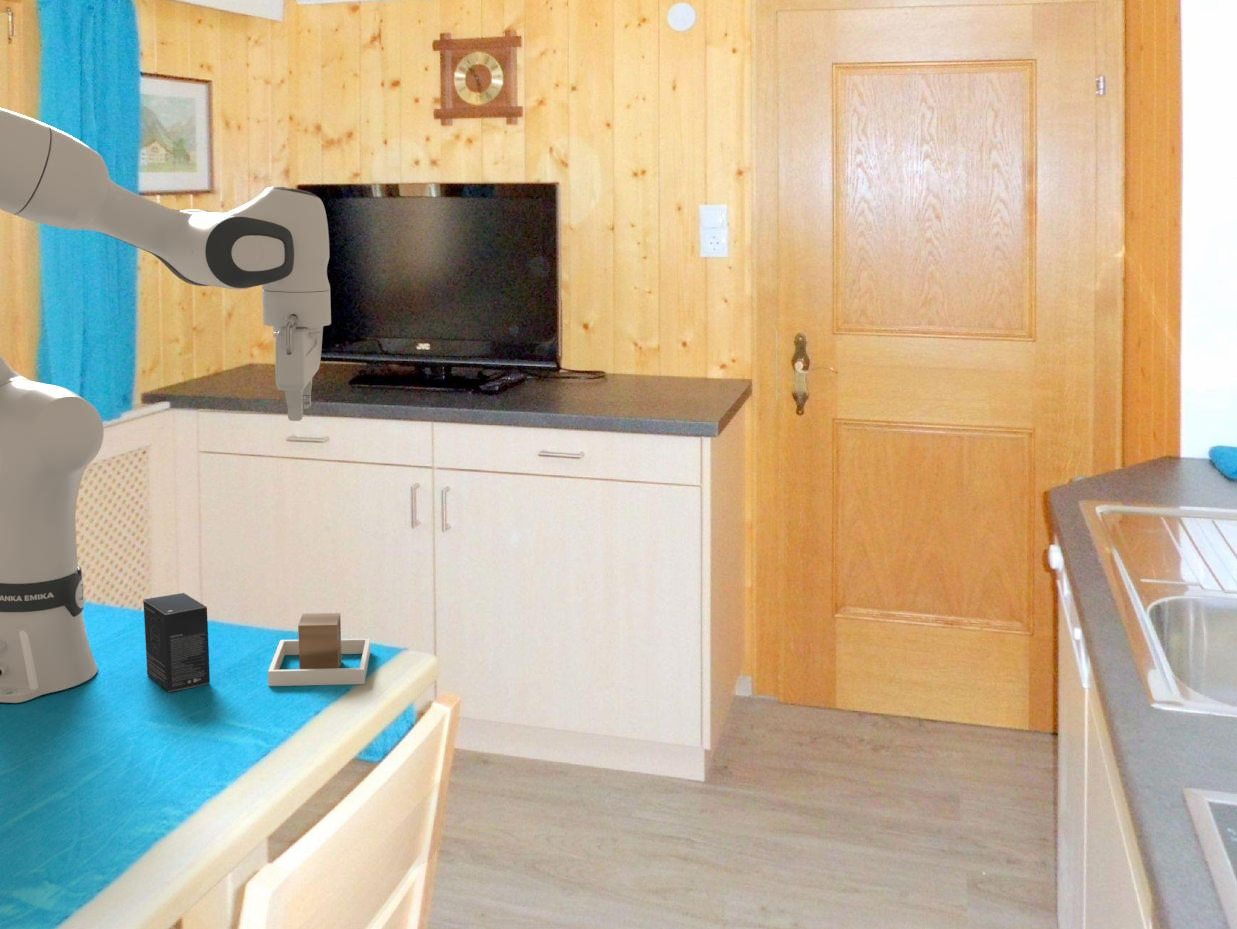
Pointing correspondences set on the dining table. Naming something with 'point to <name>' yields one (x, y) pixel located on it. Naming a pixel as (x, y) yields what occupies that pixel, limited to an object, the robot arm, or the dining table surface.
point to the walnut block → (320, 641)
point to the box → (176, 641)
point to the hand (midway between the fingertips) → (299, 414)
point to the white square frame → (319, 675)
